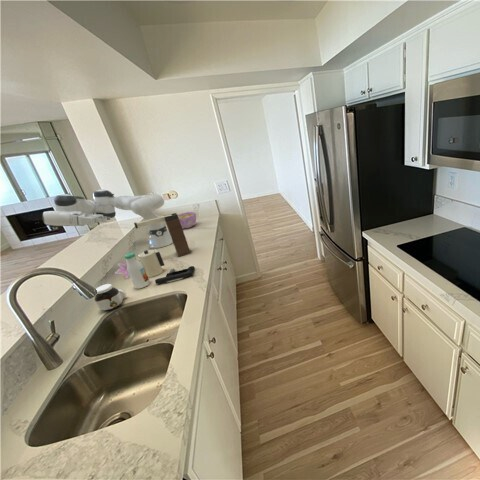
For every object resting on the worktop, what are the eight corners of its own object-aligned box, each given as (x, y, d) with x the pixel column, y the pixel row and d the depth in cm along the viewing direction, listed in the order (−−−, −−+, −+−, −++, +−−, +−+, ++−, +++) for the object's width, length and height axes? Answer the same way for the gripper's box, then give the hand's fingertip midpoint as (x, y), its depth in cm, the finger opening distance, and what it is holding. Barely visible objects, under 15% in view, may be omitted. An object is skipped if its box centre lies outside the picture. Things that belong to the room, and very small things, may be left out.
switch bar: (135, 227, 172) (133, 222, 170) (172, 218, 182) (171, 213, 181) (136, 228, 169) (134, 223, 168) (173, 219, 180) (171, 214, 179)
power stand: (176, 252, 193) (163, 215, 181) (188, 249, 197) (175, 212, 185) (178, 257, 185) (164, 218, 174) (190, 253, 189) (177, 215, 178)
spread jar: (100, 314, 130) (89, 295, 125) (101, 304, 138) (91, 285, 134) (129, 304, 136) (119, 284, 131) (128, 294, 144) (119, 276, 140)
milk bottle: (143, 289, 148) (129, 257, 141) (131, 288, 150) (117, 257, 142) (153, 281, 155) (140, 251, 147) (142, 281, 157) (129, 251, 149)
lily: (115, 282, 162) (113, 272, 156) (118, 268, 170) (117, 257, 164) (138, 281, 168) (137, 271, 162) (141, 267, 175) (140, 257, 170)
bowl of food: (176, 232, 236) (172, 220, 231) (176, 227, 252) (172, 215, 248) (200, 226, 244) (196, 215, 240) (198, 221, 261) (194, 210, 256)
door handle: (160, 270, 163) (153, 281, 148) (194, 262, 168) (191, 272, 153) (162, 275, 164) (155, 286, 149) (196, 267, 169) (193, 277, 154)
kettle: (142, 280, 158) (132, 257, 152) (141, 274, 166) (131, 252, 159) (166, 272, 165) (158, 249, 159) (165, 267, 172) (156, 245, 166)
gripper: (86, 221, 168) (113, 222, 174) (72, 226, 150) (103, 226, 156) (85, 211, 167) (112, 212, 173) (71, 215, 149) (102, 216, 154)
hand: (108, 219), depth 164 cm, fingers open, 8 cm apart
